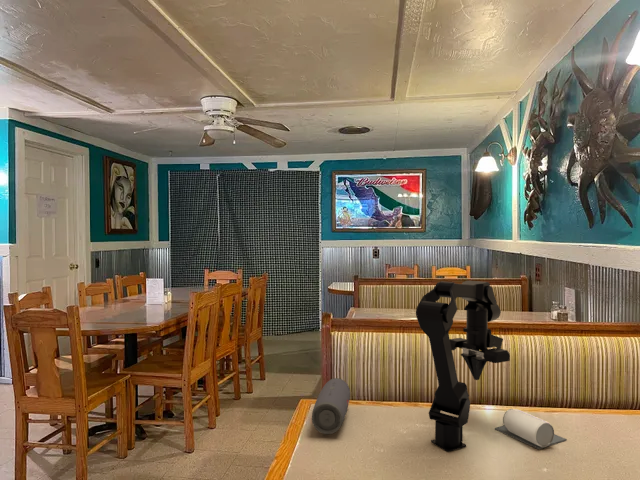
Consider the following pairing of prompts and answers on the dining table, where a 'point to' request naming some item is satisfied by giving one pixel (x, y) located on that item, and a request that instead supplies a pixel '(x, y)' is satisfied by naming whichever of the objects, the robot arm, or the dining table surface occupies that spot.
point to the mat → (504, 430)
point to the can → (529, 427)
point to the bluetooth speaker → (331, 406)
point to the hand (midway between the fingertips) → (476, 379)
